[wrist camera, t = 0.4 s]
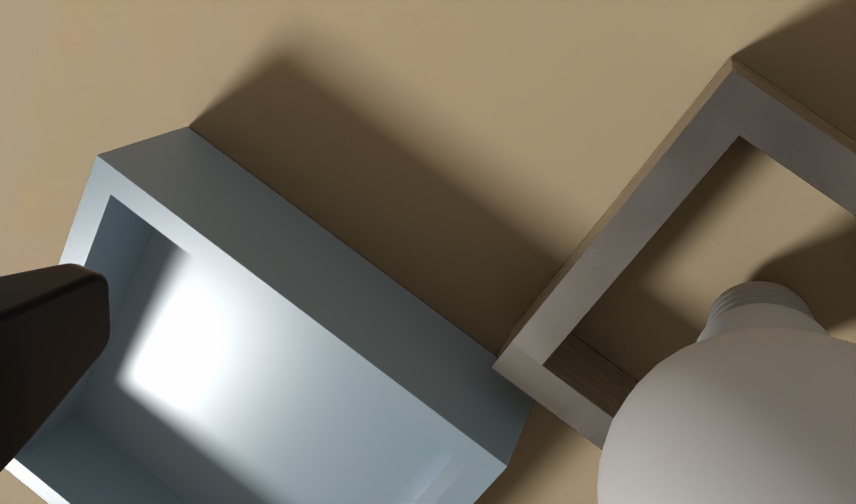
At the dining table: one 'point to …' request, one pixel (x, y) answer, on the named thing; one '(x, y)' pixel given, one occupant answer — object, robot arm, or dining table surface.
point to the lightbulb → (740, 413)
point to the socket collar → (641, 218)
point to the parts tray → (258, 357)
